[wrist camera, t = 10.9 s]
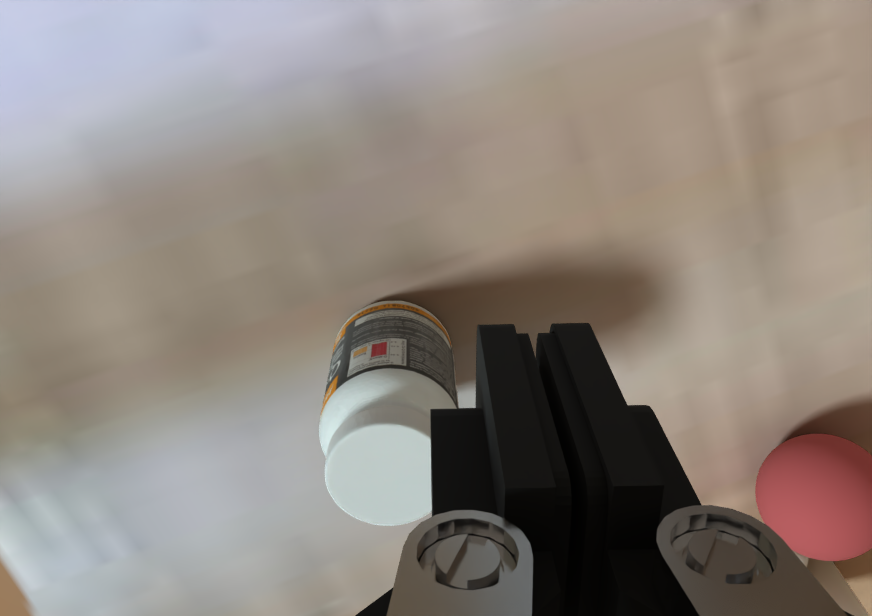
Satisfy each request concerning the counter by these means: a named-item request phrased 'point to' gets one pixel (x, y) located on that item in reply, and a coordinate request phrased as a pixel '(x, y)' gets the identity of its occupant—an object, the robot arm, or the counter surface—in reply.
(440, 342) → the pill bottle
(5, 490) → the counter surface
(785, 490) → the ball
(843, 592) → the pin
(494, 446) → the robot arm
